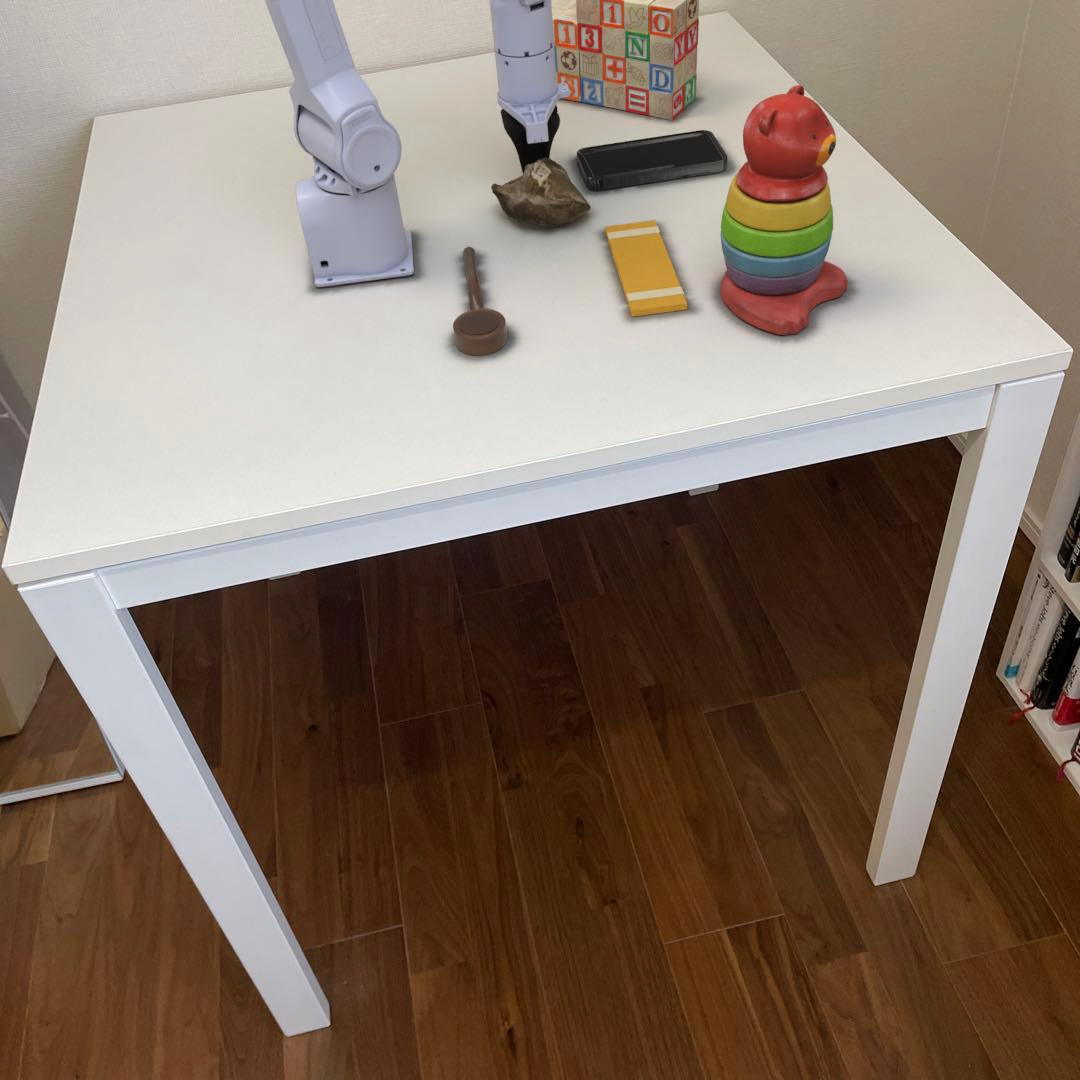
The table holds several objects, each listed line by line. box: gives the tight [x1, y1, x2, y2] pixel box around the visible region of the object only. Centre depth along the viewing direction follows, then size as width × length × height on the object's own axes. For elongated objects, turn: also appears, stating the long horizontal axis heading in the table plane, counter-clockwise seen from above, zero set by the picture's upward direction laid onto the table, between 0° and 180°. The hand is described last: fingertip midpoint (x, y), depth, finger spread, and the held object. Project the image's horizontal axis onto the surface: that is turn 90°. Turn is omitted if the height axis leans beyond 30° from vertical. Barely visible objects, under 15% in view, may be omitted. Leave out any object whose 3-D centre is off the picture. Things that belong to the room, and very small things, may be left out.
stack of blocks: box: [551, 0, 700, 121], centre depth 126 cm, size 21×6×12 cm, turn 58°
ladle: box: [452, 246, 508, 357], centre depth 101 cm, size 17×5×2 cm, turn 7°
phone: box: [576, 129, 728, 191], centre depth 117 cm, size 8×1×15 cm
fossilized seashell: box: [490, 157, 592, 228], centre depth 110 cm, size 8×7×10 cm
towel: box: [604, 219, 688, 318], centre depth 103 cm, size 5×15×1 cm, turn 7°
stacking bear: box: [719, 84, 849, 336], centre depth 92 cm, size 11×10×18 cm
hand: (535, 179), depth 114 cm, fingers closed
